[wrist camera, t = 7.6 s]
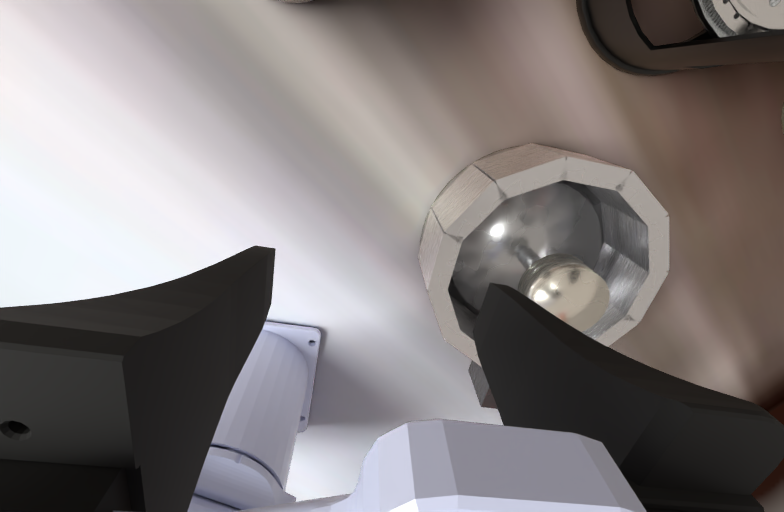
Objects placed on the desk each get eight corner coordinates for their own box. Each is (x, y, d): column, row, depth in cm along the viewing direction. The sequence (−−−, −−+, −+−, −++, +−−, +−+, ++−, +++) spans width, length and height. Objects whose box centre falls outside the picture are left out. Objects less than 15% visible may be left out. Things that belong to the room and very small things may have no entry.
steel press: (549, 371, 27) (581, 422, 23) (391, 351, 26) (395, 402, 22) (649, 167, 21) (717, 188, 17) (449, 124, 20) (470, 135, 15)
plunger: (561, 321, 24) (615, 388, 19) (432, 302, 23) (451, 368, 18) (621, 193, 21) (708, 231, 15) (473, 163, 20) (512, 193, 14)
